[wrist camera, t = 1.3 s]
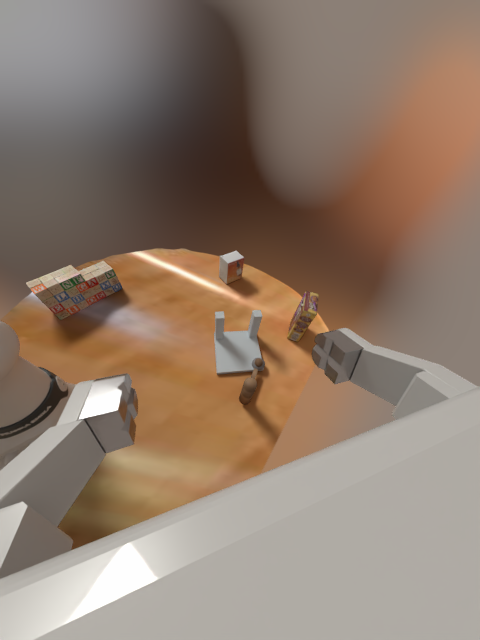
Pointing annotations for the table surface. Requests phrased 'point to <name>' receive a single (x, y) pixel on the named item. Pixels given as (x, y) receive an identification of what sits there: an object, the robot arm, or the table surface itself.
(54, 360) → the table surface
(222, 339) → the white lever base
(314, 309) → the candy box
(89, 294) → the stack of blocks
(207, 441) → the table surface
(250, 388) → the brown crank handle
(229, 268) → the small box
